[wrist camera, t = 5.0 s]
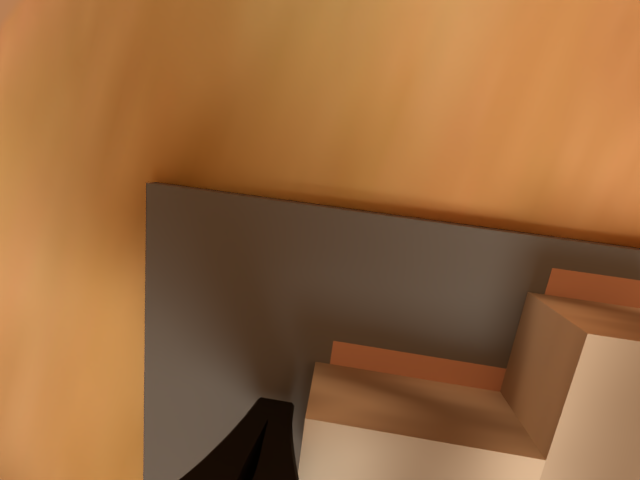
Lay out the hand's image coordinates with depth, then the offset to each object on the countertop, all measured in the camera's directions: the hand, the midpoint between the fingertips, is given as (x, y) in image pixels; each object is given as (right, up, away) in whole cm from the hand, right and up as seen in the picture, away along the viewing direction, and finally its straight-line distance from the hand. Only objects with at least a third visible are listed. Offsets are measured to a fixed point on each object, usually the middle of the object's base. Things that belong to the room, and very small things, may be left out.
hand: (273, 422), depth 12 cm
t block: (+7, -1, +1) cm, 7 cm away
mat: (+5, 0, +1) cm, 5 cm away
